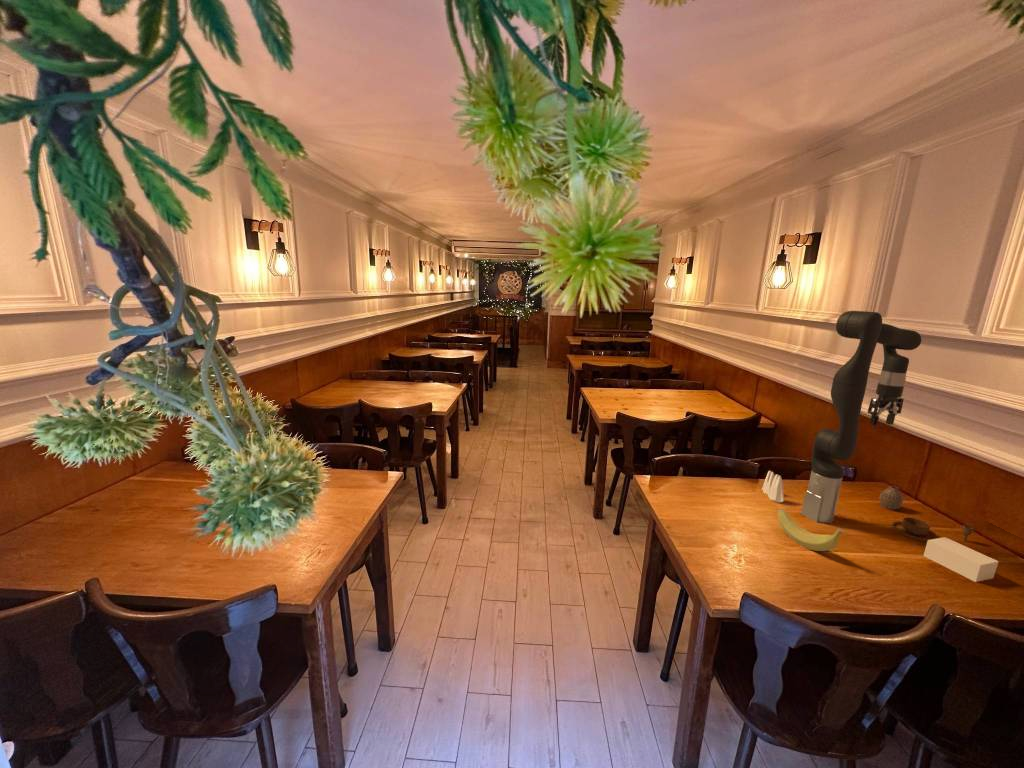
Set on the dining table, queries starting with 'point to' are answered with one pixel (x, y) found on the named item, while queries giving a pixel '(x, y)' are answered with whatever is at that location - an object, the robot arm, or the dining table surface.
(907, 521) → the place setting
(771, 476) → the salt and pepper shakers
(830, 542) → the banana
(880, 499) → the grey rounded lump
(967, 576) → the block
